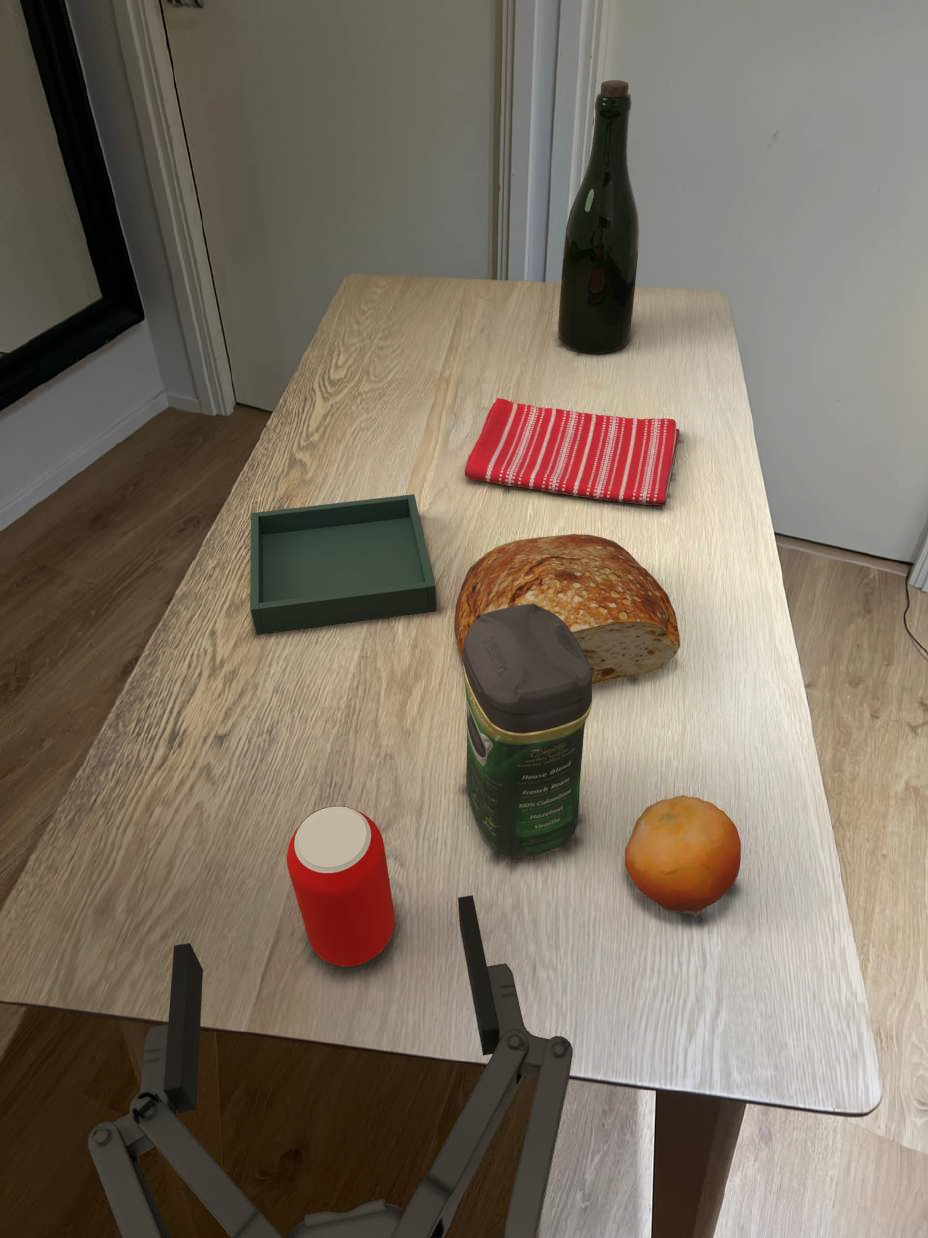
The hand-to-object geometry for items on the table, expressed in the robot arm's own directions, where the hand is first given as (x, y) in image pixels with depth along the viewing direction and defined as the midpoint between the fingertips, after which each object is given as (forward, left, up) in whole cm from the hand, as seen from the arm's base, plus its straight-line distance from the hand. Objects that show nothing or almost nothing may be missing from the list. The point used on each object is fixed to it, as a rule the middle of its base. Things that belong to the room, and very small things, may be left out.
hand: (329, 932), depth 44 cm
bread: (+22, +37, -18) cm, 47 cm away
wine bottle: (+42, +96, -18) cm, 106 cm away
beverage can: (0, +10, -18) cm, 21 cm away
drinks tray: (+2, +50, -18) cm, 53 cm away
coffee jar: (+14, +18, -18) cm, 29 cm away
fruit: (+24, +10, -18) cm, 32 cm away
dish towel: (+31, +66, -18) cm, 75 cm away
